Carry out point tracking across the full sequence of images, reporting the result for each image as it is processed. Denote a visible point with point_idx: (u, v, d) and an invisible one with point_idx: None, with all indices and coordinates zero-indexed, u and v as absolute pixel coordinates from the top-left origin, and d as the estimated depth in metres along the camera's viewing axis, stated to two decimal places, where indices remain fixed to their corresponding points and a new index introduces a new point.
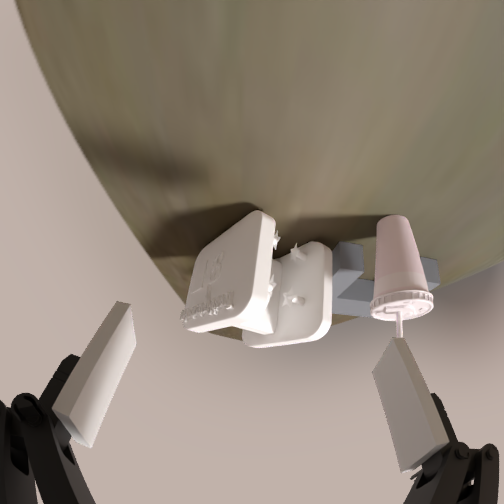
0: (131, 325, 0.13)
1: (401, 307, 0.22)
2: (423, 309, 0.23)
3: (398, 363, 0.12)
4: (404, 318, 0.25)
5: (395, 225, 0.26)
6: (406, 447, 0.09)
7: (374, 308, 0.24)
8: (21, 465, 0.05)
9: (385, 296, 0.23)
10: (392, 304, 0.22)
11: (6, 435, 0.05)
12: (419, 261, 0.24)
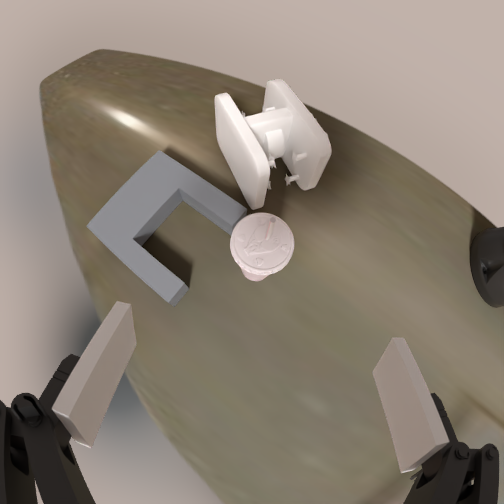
0: (131, 325, 0.13)
1: (279, 241, 0.28)
2: (261, 262, 0.28)
3: (398, 363, 0.12)
4: (235, 242, 0.28)
5: None
6: (406, 447, 0.09)
7: None
8: (21, 465, 0.05)
9: None
10: (286, 234, 0.29)
11: (6, 434, 0.05)
12: None
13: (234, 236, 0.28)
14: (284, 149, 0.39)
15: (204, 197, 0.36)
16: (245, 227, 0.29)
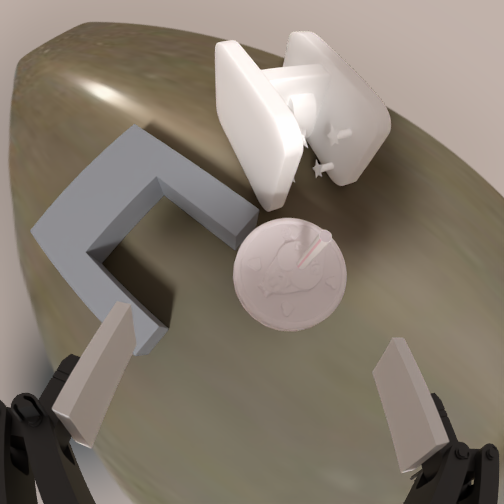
0: (131, 325, 0.13)
1: (322, 271, 0.15)
2: (289, 310, 0.15)
3: (398, 363, 0.12)
4: (243, 271, 0.15)
5: None
6: (406, 447, 0.09)
7: (322, 229, 0.16)
8: (21, 465, 0.05)
9: None
10: (333, 258, 0.16)
11: (6, 434, 0.05)
12: None
13: (241, 260, 0.15)
14: (312, 126, 0.26)
15: (194, 190, 0.23)
16: (261, 244, 0.16)
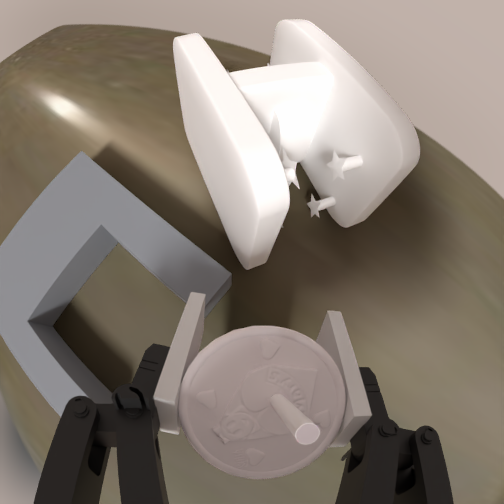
0: (203, 314, 0.14)
1: (309, 407, 0.09)
2: (258, 459, 0.08)
3: (330, 334, 0.13)
4: (190, 409, 0.09)
5: None
6: None
7: (313, 341, 0.10)
8: (93, 464, 0.07)
9: None
10: (327, 385, 0.10)
11: (90, 435, 0.07)
12: None
13: (187, 394, 0.09)
14: None
15: (145, 246, 0.17)
16: (217, 370, 0.10)
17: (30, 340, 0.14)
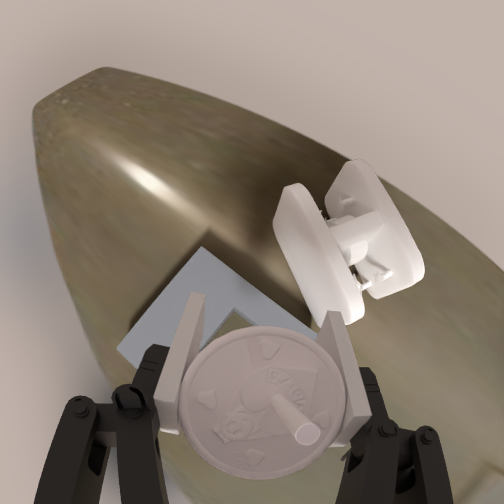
0: (203, 314, 0.14)
1: (309, 407, 0.09)
2: (258, 459, 0.08)
3: (330, 334, 0.13)
4: (190, 409, 0.09)
5: None
6: None
7: (313, 341, 0.10)
8: (93, 464, 0.07)
9: None
10: (327, 385, 0.10)
11: (89, 435, 0.07)
12: None
13: (187, 394, 0.09)
14: None
15: (268, 321, 0.29)
16: (217, 370, 0.10)
17: None
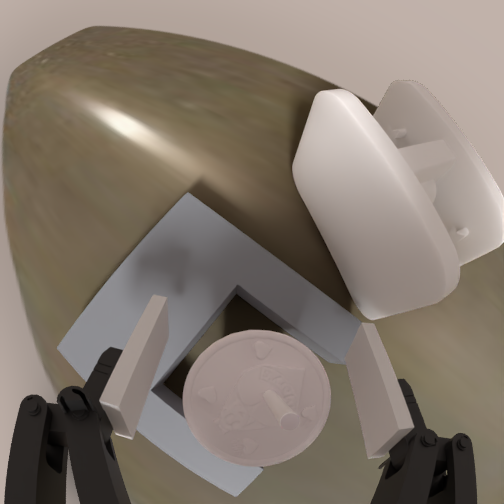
0: (166, 318, 0.14)
1: (298, 402, 0.11)
2: (253, 448, 0.10)
3: (366, 347, 0.13)
4: (193, 403, 0.10)
5: None
6: (372, 432, 0.10)
7: (301, 344, 0.12)
8: (54, 462, 0.06)
9: None
10: (314, 383, 0.11)
11: (44, 432, 0.06)
12: None
13: (190, 390, 0.11)
14: None
15: (292, 307, 0.18)
16: (217, 369, 0.11)
17: (157, 410, 0.15)
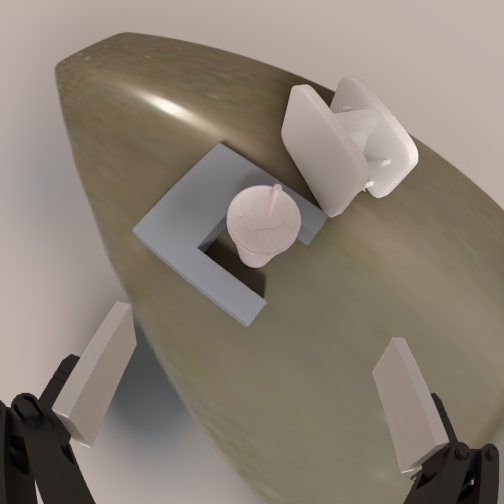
0: (131, 325, 0.13)
1: (284, 217, 0.24)
2: (262, 240, 0.23)
3: (398, 363, 0.12)
4: (232, 217, 0.24)
5: None
6: (406, 447, 0.09)
7: (284, 192, 0.25)
8: (21, 465, 0.05)
9: None
10: (291, 209, 0.25)
11: (6, 434, 0.05)
12: (271, 257, 0.28)
13: (231, 211, 0.24)
14: None
15: None
16: (244, 201, 0.25)
17: (200, 260, 0.29)
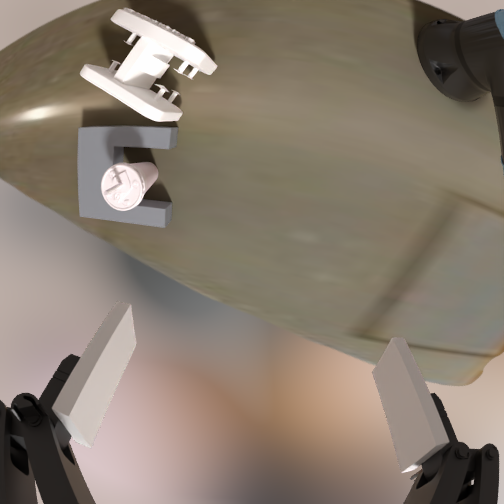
0: (131, 325, 0.13)
1: (129, 181, 0.33)
2: (127, 202, 0.34)
3: (398, 363, 0.12)
4: (107, 199, 0.34)
5: (154, 169, 0.40)
6: (406, 447, 0.09)
7: (120, 164, 0.32)
8: (21, 465, 0.05)
9: (132, 167, 0.33)
10: (130, 173, 0.33)
11: (6, 434, 0.05)
12: (147, 189, 0.38)
13: (104, 196, 0.34)
14: (170, 54, 0.31)
15: (135, 140, 0.36)
16: (106, 185, 0.33)
17: None
